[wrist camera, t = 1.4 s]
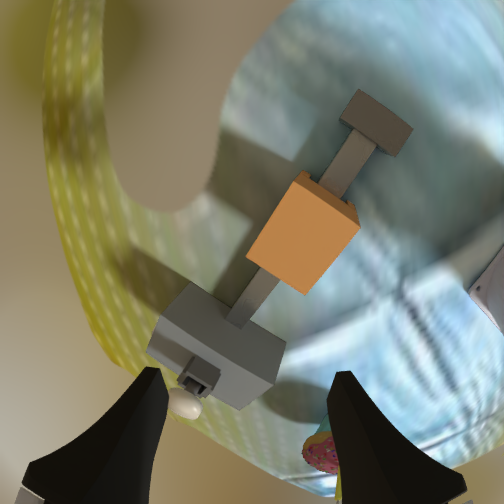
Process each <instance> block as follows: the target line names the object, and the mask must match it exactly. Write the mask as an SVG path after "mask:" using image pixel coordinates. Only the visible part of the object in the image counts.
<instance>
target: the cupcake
mask: <svg viewBox="0 0 504 504" xmlns="http://www.w3.org/2000/svg"><path fill="white" fill-rule="evenodd" d="M301 454H303V458H304V459H305V461H306V462H307V463H308V464H310V465H311V466H313V467H315V468H317V470H319V471H322V472H326V473H332V474H336V473H337V474H338V475H337V484H336V492H335V500H337V504H339V500H341V498H342V491H341V477H340V468H339V462H338V457H337V453H336V449H335V444H334V440H333V436H332V432H331V427H330V423H329V417H328V415H326V416H325V417H324V419H323V421H322V423H321V425H320V427H319V428H318V430H317V431H316V433H315V434H314V435H312V436H310V437H309V438H308V439H307V440H306V441H305V443H304V445H303V450H302V453H301Z"/></svg>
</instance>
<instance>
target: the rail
mask: <svg viewBox="0 0 504 504" xmlns="http://www.w3.org/2000/svg"><path fill="white" fill-rule="evenodd" d="M339 121H340V122H342V123H343V124H345V125H346V126H348V127H349V128H351V129H352V130H351V132H350V133H349V135H348V137H347V138H346V140H345V141H344V143H343V144H342V146H341V147H340V149H339V150H338V152H337V153H336V155H335V156H334V158H333V159H332V161H331V162H330V164H329V165H328V167H327V168H326V170H325V171H324V173H323V174H322V176H321V177H320V179H319V180H318V182H317V184H319V185H320V186H321V187H323V188H324V189H326V190H327V191H329V192H330V193H332V194H333V195H335V196H336V197H337V198H339V199H340V198H341V197H342V196H343V194H344V193H345V191H346V190H347V188H348V187H349V186H350V184H351V183H352V181H353V180H354V178H355V177H356V176H357V174H358V173H359V171H360V170H361V168H362V167H363V165H364V164H365V162H366V161H367V159H368V158H369V156H370V155H371V153H372V152H373V150H374V149H375V147H377V148H379V149H380V150H381V151H383V152H384V153H385V154H388V155H390V156H393V157H396V155H397V154H398V152H399V151H400V149H401V148H402V146H403V145H404V143H405V142H406V140H407V139H408V137H409V136H410V134H411V132H412V131H413V128H412V127H410V126H409V125H408V124H407V123H405V122H404V121H403V120H402V119H400V118H399V117H398V116H397V115H395V114H394V113H393V112H391V111H390V110H389V109H387V108H386V107H384V106H383V105H382V104H380V103H379V102H377V101H376V100H375V99H373V98H372V97H370V96H369V95H367V94H366V93H364V92H363V91H361V90H360V89H358V90H357V92H356V93H355V95H354V96H353V98H352V100H351V101H350V103H349V104H348V106H347V107H346V109H345V110H344V112H343V114H342V115H341V117H340V119H339ZM279 281H280V279H279V278H277V277H276V276H274V275H273V274H271V273H270V272H268V271H267V270H265V269H264V268H262V267H260V268H259V269H258V270H257V272H256V273H255V275H254V276H253V278H252V279H251V281H250V282H249V283H248V285H247V286H246V288H245V289H244V291H243V292H242V293H241V295H240V296H239V298H238V299H237V301H236V302H235V304H234V305H233V306H232V308H231V309H230V311H229V313H228V314H227V316H226V318H225V320H226V321H228V322H229V323H231V324H232V325H234V326H236V327H237V328H239V329H240V330H241V329H242V328H243V327H244V325H245V324H246V323H247V322H248V320H249V319H250V318H251V317H252V315H253V314H254V313H255V312H256V310H257V309H258V308H259V307H260V305H261V304H262V303H263V302H264V300H265V299H266V298H267V296H268V295H269V294H270V293H271V291H272V290H273V289H274V288H275V286H276V285H277V284H278V282H279Z"/></svg>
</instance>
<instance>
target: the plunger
mask: <svg viewBox="0 0 504 504" xmlns="http://www.w3.org/2000/svg"><path fill="white" fill-rule="evenodd" d="M200 387H201V383H199V382H197V381H196V380H194V379H190V380H189V382H188V384H187V385H186V387H185V389H184V390H183V389H180V388H171V389H170V390H169V391H168V394H169V403H168V408H169V409H170V410H172V411H173V412H174V413H176V414H178V415H180V416H182V417H184V418H188V419H197V418H198V416H199V414H200V413H201V411H202V409H203V404H202V402H201V401H200V400H199V399H198V398H197V397H196V394H197V393H198V391H199V389H200Z"/></svg>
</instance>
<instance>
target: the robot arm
mask: <svg viewBox="0 0 504 504" xmlns="http://www.w3.org/2000/svg"><path fill="white" fill-rule="evenodd" d="M478 286H479V288H478V289H476V288H477V287H478ZM468 294H469V296H470V298H471V299H472V300H473V301H474V302H475V303H476V304H477V305H478V306H479V307H480V308H481V309H482V311H483V312H484V313H485V314H486V315H487V316H488V317H489V318H490V320H491V321H492V322H493V323H494V324H495V325H496V327H497V328H498V329H499V330H500V331H501V332H502V334H503V335H504V246H503V248H502V249H501V250H500V252H499V253H498V255H497V256H496V257H495V259H494V260H493V261H492V262H491V264H490V265H489V266H488V268H487V269H486V270H485V271H484V272H483V274H482V275H481V276H480V277H479V278H478V280H477V281H476V282H475V283H474V284H473V285H472V287H471V288H470V289H469V291H468ZM168 403H169V394H168V391H167V388H166V385H165V382H164V380H163V377H162V374H161V371H160V368H154V367H147V366H146V367H145V368H144V369H143V371H142V372H141V373H140V374H139V376H138V377H137V378H136V379H135V381H134V382H133V383H132V384H131V385H130V387H129V388H128V389H127V390H126V391H125V392H124V394H123V395H122V396H121V397H120V398H119V399H118V400H117V402H116V403H115V404H114V405H113V406H112V407H111V408H110V409H109V410H108V411H107V412H106V413H105V414H104V415H103V416H102V417H101V418H100V419H99V420H98V421H97V422H96V423H94V424H93V425H92V426H91V427H90V428H89V429H87V430H86V431H85V432H84V433H82V434H81V435H80V436H78V437H77V438H75V439H74V440H73V441H71V442H70V443H68V444H66V445H65V446H63V447H61V448H60V449H58V450H56V451H54V452H52V453H51V454H48V455H46V456H44V457H42V458H39V459H37V460H35V461H32V462H30V463H29V465H28V467H27V470H26V472H25V475H24V477H23V480H22V484H23V485H24V486H25V487H26V488H28V489H29V490H31V491H33V492H34V493H35V494H37V495H38V496H40V497H42V498H43V499H45V500H42V499H40V498H38V497H37V496H35V495H33V494H32V493H30V492H29V491H27V490H26V489H24V488H22V487H21V488H20V490H19V492H18V495H17V498H16V501H15V504H148V503H149V490H150V481H151V473H152V466H153V461H154V457H155V453H156V450H157V446H158V443H159V439H160V436H161V433H162V429H163V426H164V422H165V419H166V415H167V409H168ZM327 408H328V417H329V423H330V427H331V432H332V436H333V440H334V444H335V449H336V453H337V457H338V462H339V468H340V477H341V491H342V504H448V502H449V501H451V500H453V499H454V498H456V497H458V496H460V495H461V494H463V493H465V492H466V491H467V486H466V483H465V480H464V478H463V476H462V474H460V473H458V472H455V471H453V470H451V469H449V468H447V467H445V466H444V465H442V464H440V463H439V462H437V461H435V460H434V459H432V458H431V457H429V456H428V455H427V454H425V453H424V452H422V451H421V450H420V449H418V448H417V447H416V446H415V445H413V444H412V443H411V442H410V441H409V440H408V439H407V438H405V437H404V436H403V435H402V434H401V433H400V432H399V431H398V430H397V429H396V428H395V427H394V426H393V425H392V424H391V422H390V421H389V420H388V419H387V418H386V417H385V416H384V414H383V413H382V412H381V411H380V410H379V408H378V407H377V406H376V405H375V403H374V402H373V401H372V400H371V398H370V397H369V396H368V394H367V393H366V392H365V390H364V389H363V387H362V386H361V385H360V383H359V382H358V380H357V379H356V377H355V376H354V375H353V373H352V372H351V371H341V372H336V374H335V377H334V380H333V383H332V386H331V389H330V392H329V394H328V397H327ZM464 504H473V501H472V500H469V501H467V502H465V503H464Z"/></svg>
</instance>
